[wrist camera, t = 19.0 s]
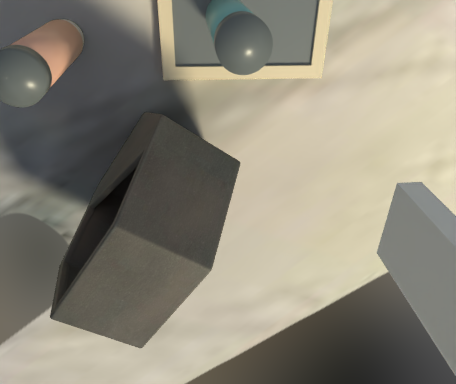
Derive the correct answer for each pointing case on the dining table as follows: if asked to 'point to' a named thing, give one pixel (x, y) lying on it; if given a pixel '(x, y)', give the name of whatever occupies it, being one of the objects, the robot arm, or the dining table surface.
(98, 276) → the planter
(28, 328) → the dining table surface
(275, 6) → the slate board
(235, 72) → the teal marker
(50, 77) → the coral marker
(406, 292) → the robot arm
